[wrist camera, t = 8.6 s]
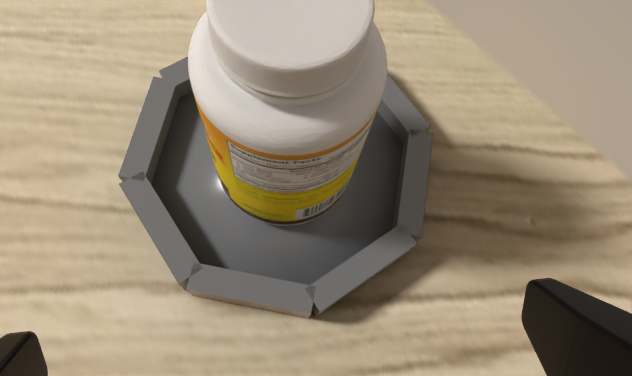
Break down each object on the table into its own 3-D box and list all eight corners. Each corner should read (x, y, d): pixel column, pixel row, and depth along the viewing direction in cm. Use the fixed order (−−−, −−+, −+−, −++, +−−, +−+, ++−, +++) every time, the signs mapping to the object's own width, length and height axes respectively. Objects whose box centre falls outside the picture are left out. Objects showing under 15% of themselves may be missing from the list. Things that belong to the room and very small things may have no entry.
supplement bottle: (240, 95, 22) (214, -118, 13) (361, 127, 22) (428, -62, 12) (198, 210, 20) (130, 62, 11) (331, 247, 20) (385, 130, 10)
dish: (472, 207, 22) (487, 194, 20) (235, 373, 19) (232, 373, 17) (316, 14, 25) (319, -9, 23) (89, 130, 22) (76, 112, 20)
